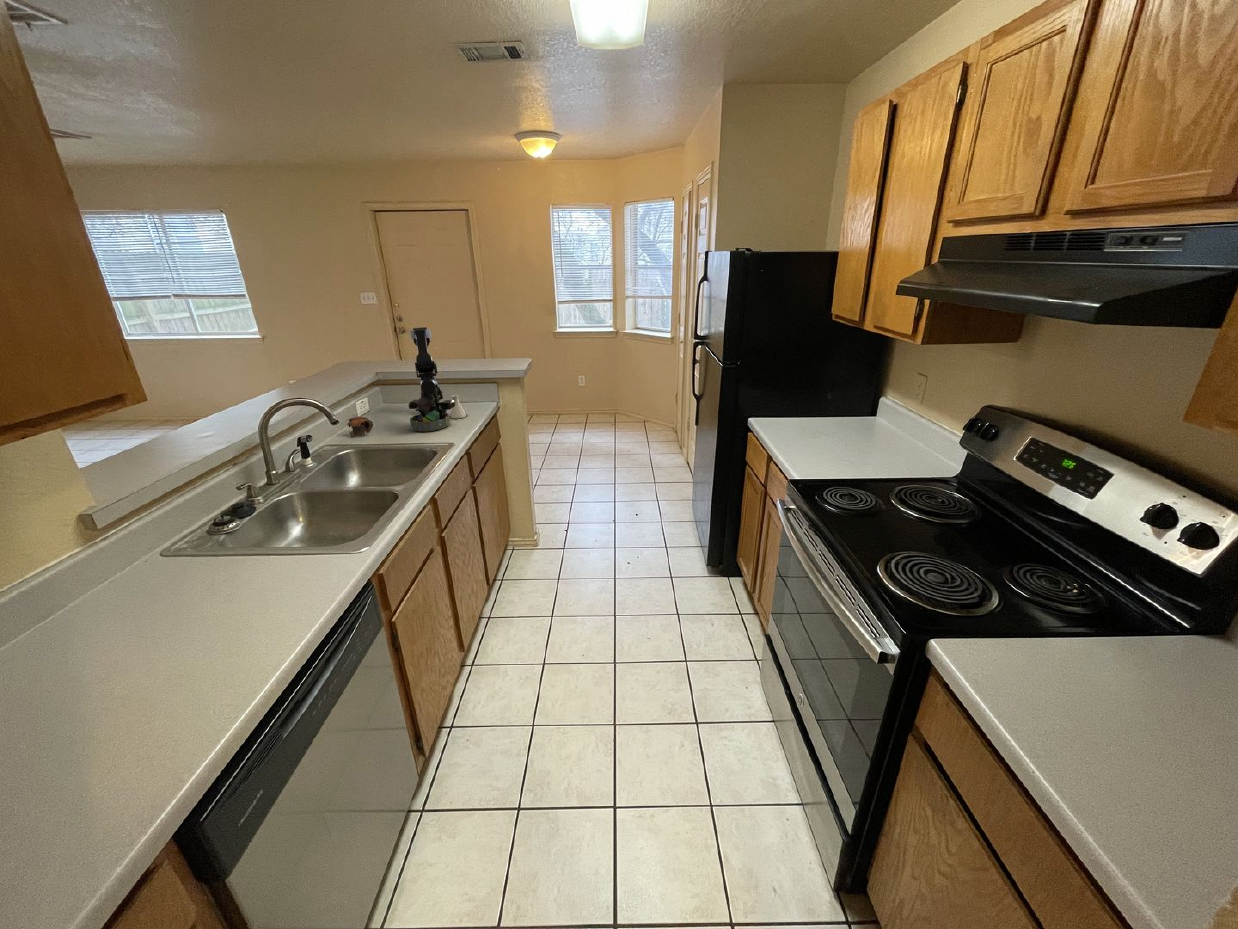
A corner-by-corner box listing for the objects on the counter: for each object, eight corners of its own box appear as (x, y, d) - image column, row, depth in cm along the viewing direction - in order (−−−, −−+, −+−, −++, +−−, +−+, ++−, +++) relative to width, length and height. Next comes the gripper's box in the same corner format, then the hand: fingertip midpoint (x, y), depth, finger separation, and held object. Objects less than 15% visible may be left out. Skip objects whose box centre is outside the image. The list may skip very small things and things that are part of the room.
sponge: (432, 415, 225) (434, 410, 224) (443, 421, 225) (445, 416, 224) (422, 421, 216) (424, 416, 215) (433, 428, 217) (436, 422, 216)
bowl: (422, 420, 230) (420, 411, 228) (456, 421, 228) (454, 411, 226) (404, 432, 215) (402, 422, 214) (440, 432, 213) (438, 422, 212)
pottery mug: (343, 438, 212) (341, 419, 213) (360, 441, 221) (358, 423, 222) (367, 432, 209) (364, 413, 210) (383, 435, 218) (381, 416, 219)
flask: (463, 418, 231) (460, 397, 228) (448, 419, 232) (444, 397, 228) (468, 414, 238) (465, 393, 234) (453, 414, 238) (449, 393, 234)
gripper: (398, 393, 209) (405, 428, 215) (441, 393, 206) (447, 429, 212) (412, 386, 219) (418, 420, 225) (453, 387, 217) (458, 421, 223)
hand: (434, 423), depth 221 cm, fingers closed on sponge, 6 cm apart
